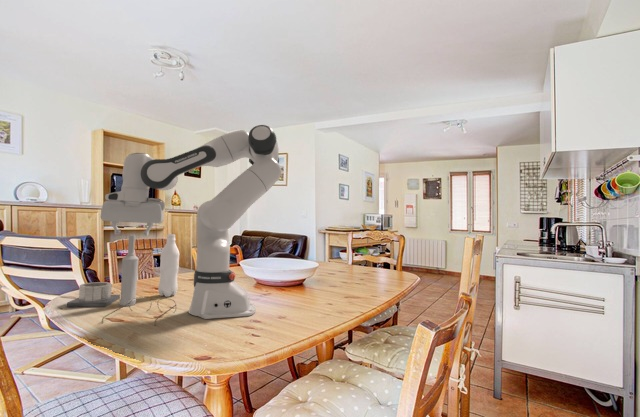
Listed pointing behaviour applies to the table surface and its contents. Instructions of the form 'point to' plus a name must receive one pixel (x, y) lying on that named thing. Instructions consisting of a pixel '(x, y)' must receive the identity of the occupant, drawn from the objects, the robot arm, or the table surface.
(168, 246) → the water bottle
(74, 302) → the collar holder
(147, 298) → the eyeglasses
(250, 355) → the table surface
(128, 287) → the bottle
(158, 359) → the table surface
